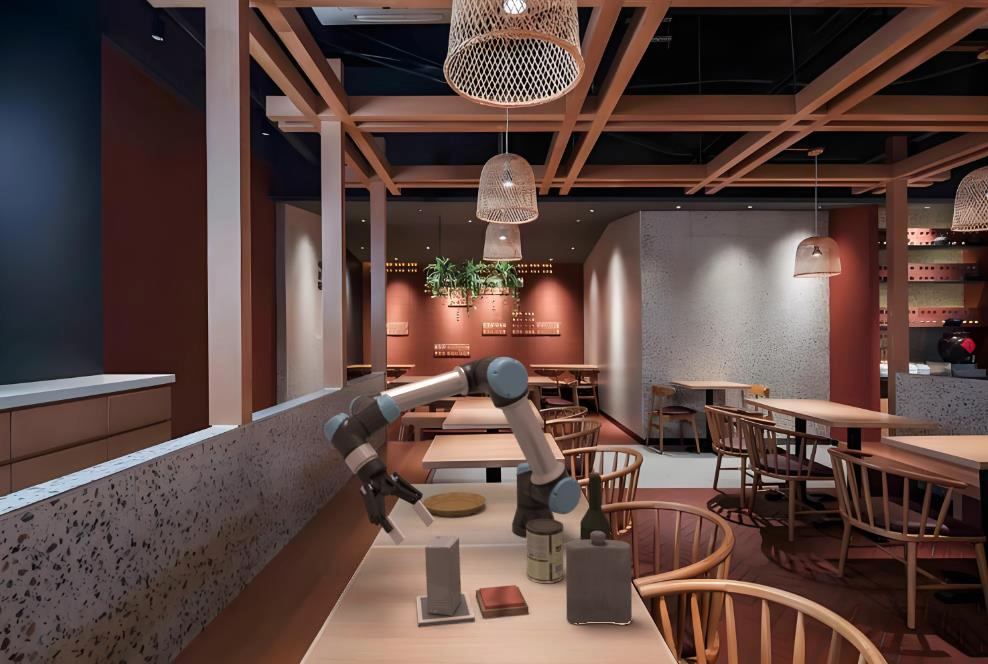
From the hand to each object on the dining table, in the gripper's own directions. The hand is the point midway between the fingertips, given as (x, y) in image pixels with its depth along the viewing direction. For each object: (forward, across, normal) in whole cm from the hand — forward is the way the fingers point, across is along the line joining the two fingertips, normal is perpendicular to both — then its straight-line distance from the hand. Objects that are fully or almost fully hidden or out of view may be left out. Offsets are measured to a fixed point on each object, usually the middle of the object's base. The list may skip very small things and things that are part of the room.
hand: (416, 532), depth 135 cm
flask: (+43, -11, +17) cm, 48 cm away
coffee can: (+29, -28, +4) cm, 41 cm away
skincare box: (+17, 0, -7) cm, 19 cm away
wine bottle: (+40, -26, +14) cm, 50 cm away
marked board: (+18, 0, -7) cm, 19 cm away
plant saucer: (-7, -72, -33) cm, 79 cm away
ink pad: (+26, -8, +1) cm, 27 cm away
